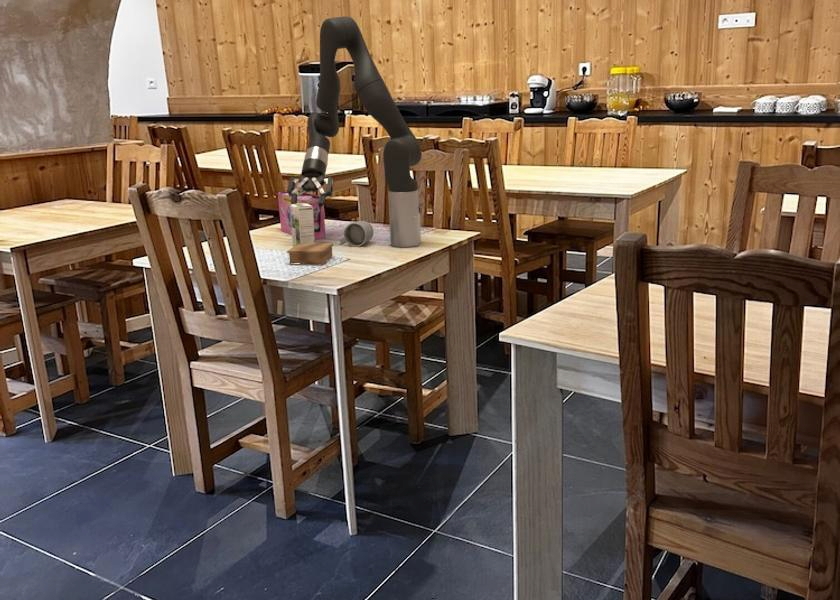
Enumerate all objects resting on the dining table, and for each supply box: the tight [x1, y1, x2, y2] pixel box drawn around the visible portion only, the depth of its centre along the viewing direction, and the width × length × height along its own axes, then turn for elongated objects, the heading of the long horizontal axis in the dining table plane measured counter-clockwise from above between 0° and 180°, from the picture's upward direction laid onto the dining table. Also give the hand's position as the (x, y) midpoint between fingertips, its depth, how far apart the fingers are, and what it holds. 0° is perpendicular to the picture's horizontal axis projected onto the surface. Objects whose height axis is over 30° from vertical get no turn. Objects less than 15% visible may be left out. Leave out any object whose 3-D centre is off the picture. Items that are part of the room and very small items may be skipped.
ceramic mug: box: [339, 220, 375, 248], centre depth 250 cm, size 11×8×8 cm
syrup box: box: [291, 203, 316, 247], centre depth 241 cm, size 6×6×14 cm
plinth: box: [286, 242, 334, 265], centre depth 230 cm, size 11×11×4 cm
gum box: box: [277, 191, 327, 240], centre depth 266 cm, size 24×8×14 cm, turn 30°
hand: (306, 205), depth 245 cm, fingers open, 8 cm apart
